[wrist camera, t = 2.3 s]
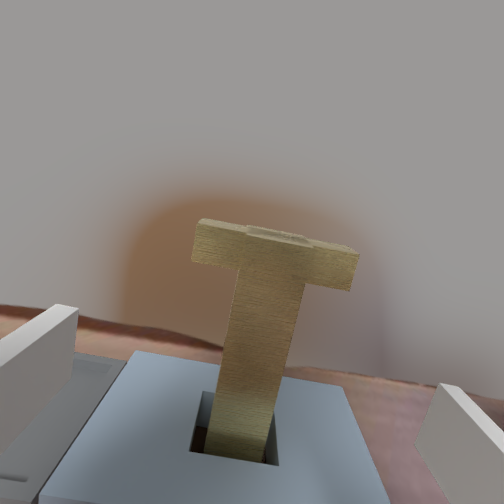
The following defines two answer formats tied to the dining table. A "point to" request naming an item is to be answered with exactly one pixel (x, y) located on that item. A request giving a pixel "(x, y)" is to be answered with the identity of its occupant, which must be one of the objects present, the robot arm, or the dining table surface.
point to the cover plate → (208, 466)
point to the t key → (260, 322)
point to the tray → (55, 429)
